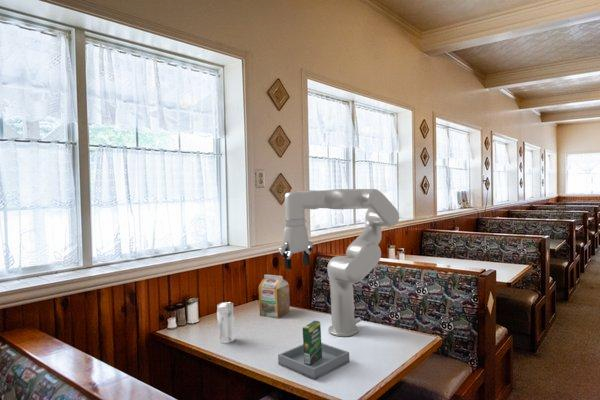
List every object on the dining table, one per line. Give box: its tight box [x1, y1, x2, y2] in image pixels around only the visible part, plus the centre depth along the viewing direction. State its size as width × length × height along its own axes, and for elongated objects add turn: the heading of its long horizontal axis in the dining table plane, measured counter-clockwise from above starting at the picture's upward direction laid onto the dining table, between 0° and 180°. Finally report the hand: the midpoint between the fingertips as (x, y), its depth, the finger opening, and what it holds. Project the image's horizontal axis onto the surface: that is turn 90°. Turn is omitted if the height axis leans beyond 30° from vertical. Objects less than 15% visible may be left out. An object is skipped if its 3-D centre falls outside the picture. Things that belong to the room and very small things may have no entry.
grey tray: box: [277, 342, 351, 381], centre depth 144 cm, size 18×18×4 cm
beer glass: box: [216, 301, 236, 344], centre depth 169 cm, size 7×7×15 cm
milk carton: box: [258, 274, 291, 319], centre depth 201 cm, size 10×11×19 cm
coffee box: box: [302, 320, 322, 366], centre depth 144 cm, size 8×3×13 cm, turn 146°
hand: (297, 266), depth 162 cm, fingers open, 9 cm apart
